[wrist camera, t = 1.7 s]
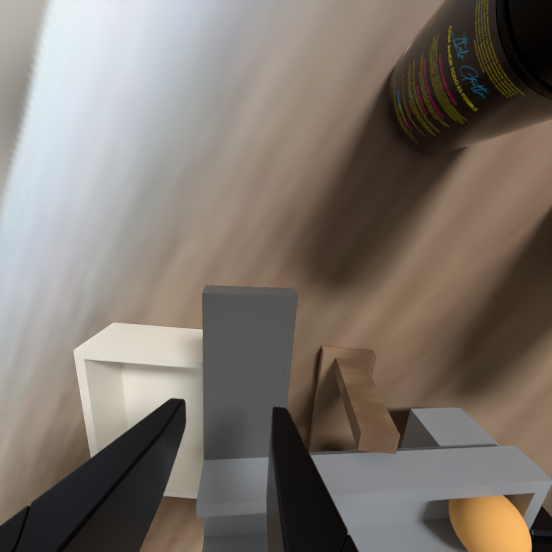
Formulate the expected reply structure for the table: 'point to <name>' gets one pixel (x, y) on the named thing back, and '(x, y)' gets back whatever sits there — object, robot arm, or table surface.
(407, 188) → the table surface
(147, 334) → the white open tray
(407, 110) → the supplement container
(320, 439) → the pivot stand
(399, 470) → the tipping lever
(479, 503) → the ball
